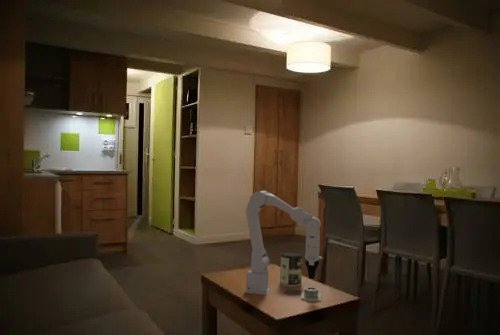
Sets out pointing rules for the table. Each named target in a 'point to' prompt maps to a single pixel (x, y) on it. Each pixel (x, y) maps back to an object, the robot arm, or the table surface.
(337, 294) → the table surface
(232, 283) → the table surface
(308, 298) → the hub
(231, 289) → the table surface
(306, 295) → the ring
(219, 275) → the table surface
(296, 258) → the coffee can
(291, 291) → the mat
